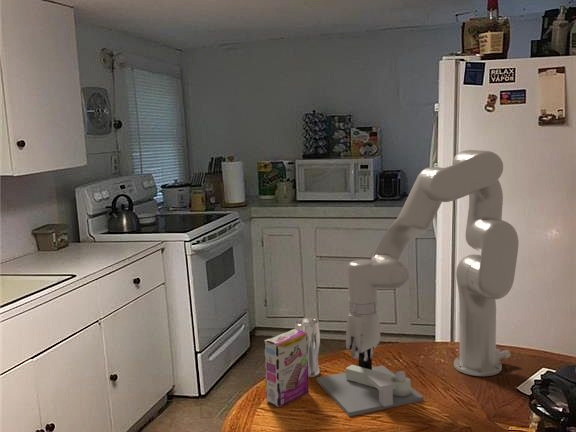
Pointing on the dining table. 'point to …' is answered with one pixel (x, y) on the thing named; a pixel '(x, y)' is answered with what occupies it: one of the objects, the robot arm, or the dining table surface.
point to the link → (362, 373)
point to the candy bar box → (286, 367)
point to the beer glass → (311, 342)
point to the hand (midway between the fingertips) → (365, 372)
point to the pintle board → (365, 392)
